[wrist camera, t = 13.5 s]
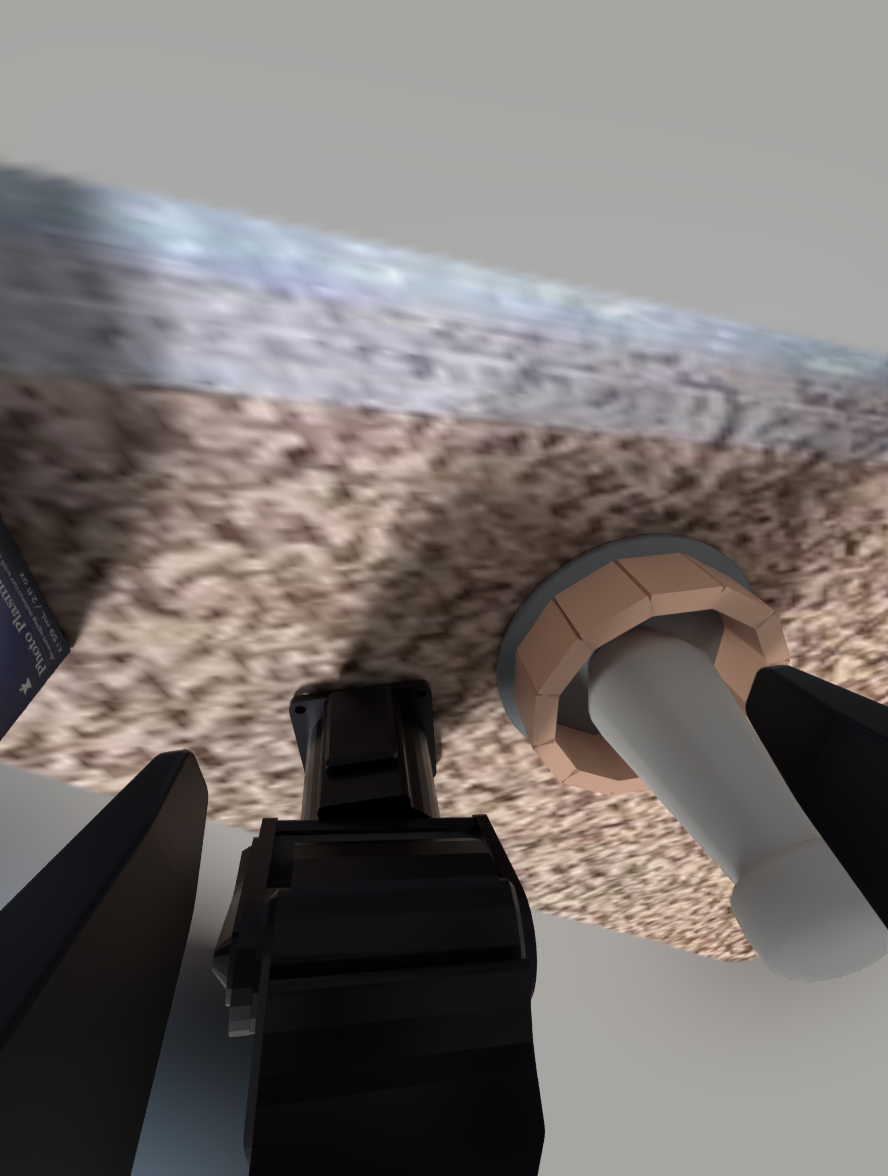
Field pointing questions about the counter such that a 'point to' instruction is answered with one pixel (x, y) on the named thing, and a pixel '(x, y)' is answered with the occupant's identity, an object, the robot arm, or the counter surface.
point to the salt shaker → (732, 804)
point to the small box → (23, 636)
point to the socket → (608, 609)
